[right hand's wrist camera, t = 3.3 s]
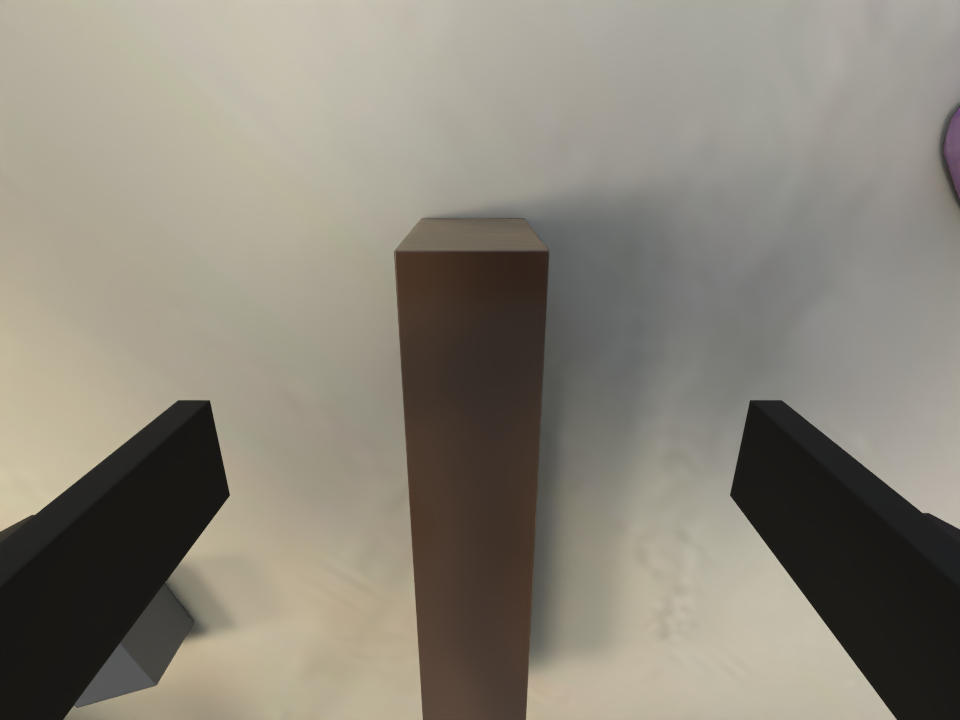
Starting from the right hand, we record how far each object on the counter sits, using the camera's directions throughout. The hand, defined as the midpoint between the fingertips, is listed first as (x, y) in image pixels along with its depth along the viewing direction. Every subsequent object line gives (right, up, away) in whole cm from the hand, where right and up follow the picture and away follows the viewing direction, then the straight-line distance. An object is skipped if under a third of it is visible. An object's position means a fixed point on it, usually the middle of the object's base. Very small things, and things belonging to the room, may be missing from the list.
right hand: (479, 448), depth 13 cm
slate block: (-20, -12, +18) cm, 29 cm away
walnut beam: (0, -4, +14) cm, 15 cm away
